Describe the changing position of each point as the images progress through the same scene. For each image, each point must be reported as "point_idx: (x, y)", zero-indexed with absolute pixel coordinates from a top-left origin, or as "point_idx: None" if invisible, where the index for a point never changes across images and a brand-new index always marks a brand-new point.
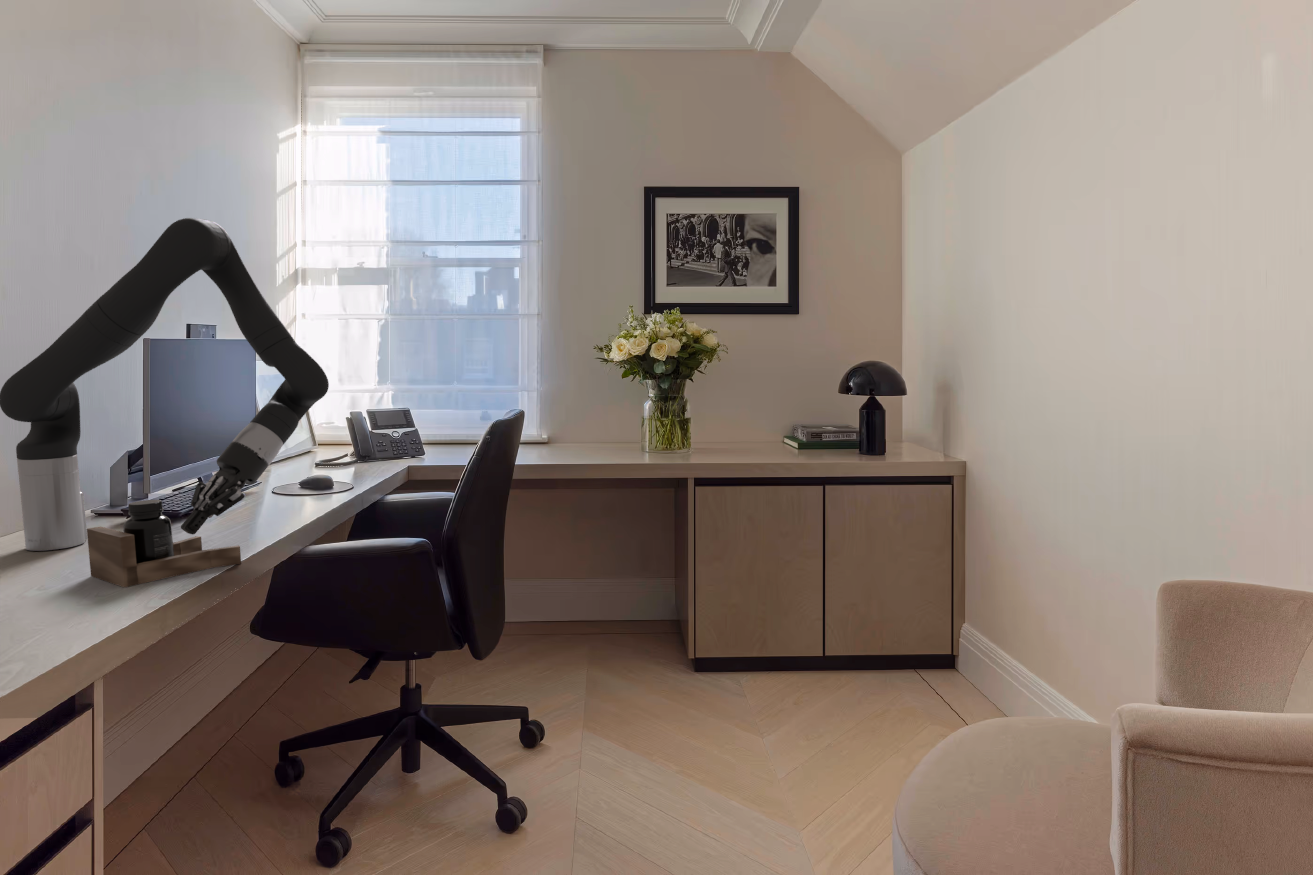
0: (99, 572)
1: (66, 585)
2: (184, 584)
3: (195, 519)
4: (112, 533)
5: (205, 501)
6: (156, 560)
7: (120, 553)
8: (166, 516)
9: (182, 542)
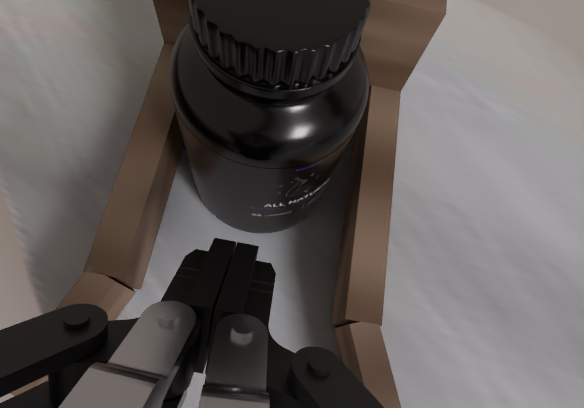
0: None
1: None
2: (33, 119)
3: (183, 278)
4: None
5: (152, 360)
6: (164, 103)
7: None
8: (229, 122)
9: (353, 339)
